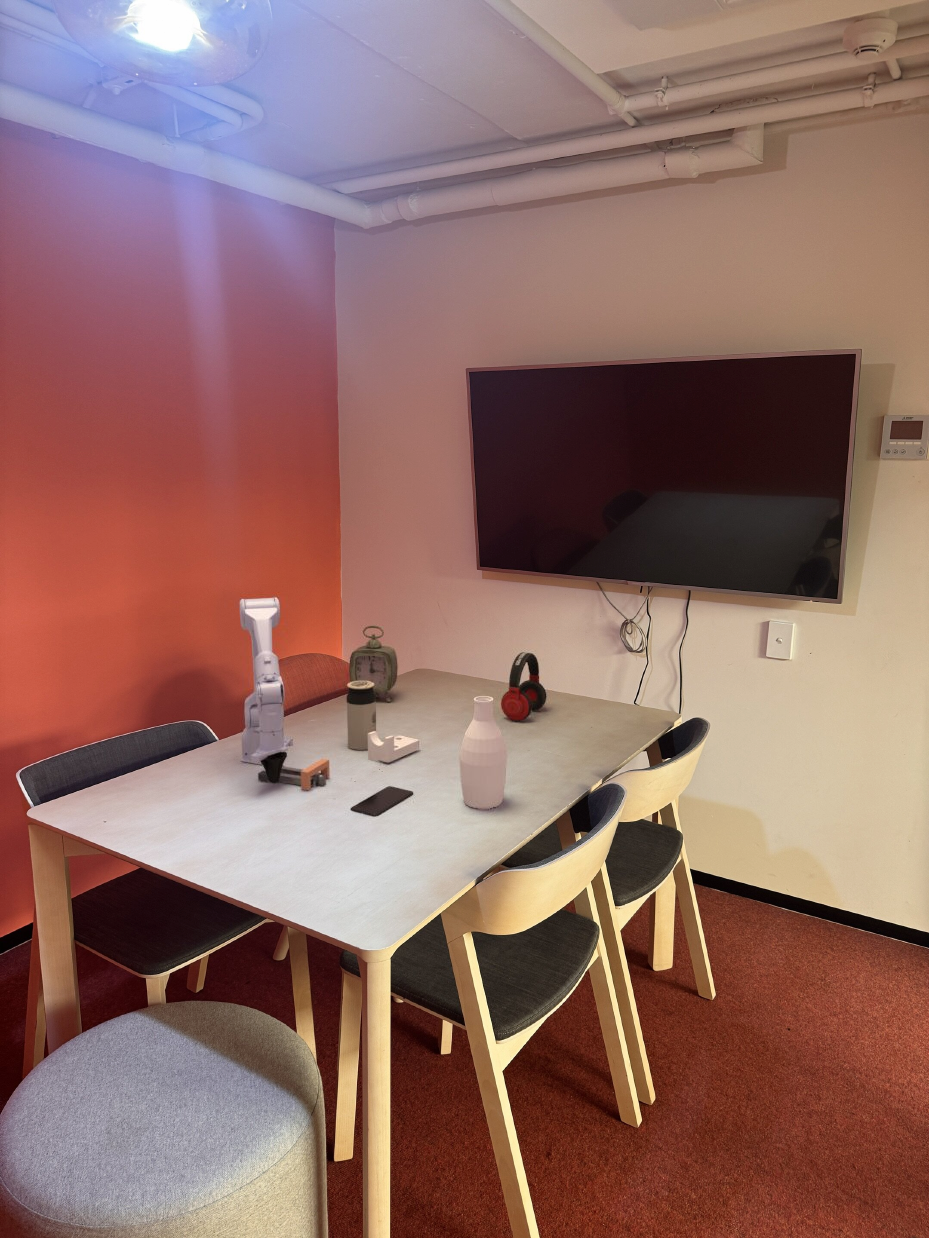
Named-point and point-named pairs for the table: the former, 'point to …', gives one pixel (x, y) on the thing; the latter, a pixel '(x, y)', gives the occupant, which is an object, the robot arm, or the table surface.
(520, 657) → the headphones
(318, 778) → the base
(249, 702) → the robot arm
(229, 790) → the table surface
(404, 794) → the smartphone
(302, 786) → the orange bridge block
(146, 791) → the table surface
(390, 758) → the bracket
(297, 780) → the tong arm
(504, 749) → the bottle
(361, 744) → the travel mug
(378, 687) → the tabletop clock
